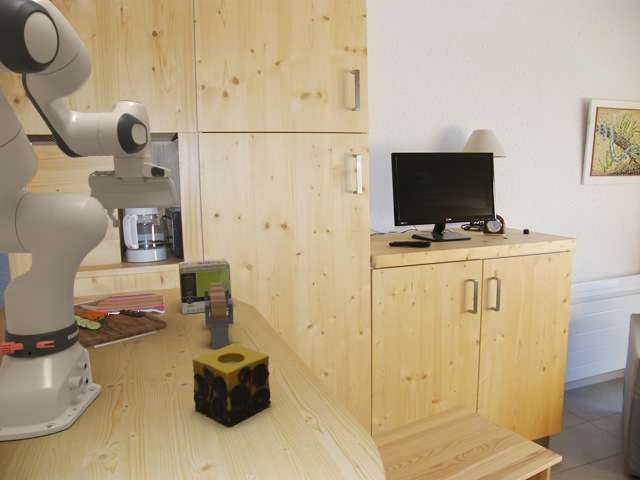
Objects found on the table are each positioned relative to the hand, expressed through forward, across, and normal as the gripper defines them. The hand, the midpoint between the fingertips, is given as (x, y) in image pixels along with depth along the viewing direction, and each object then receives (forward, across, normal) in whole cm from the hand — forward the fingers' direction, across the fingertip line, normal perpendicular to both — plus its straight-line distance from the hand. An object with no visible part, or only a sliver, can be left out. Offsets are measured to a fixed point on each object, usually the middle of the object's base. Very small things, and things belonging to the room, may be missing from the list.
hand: (136, 226), depth 121 cm
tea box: (+29, +16, +25) cm, 42 cm away
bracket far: (+29, +19, +4) cm, 35 cm away
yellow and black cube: (+29, +20, -43) cm, 56 cm away
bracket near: (+29, +19, -10) cm, 36 cm away
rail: (+22, +19, -3) cm, 29 cm away
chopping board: (+30, -15, +19) cm, 39 cm away
